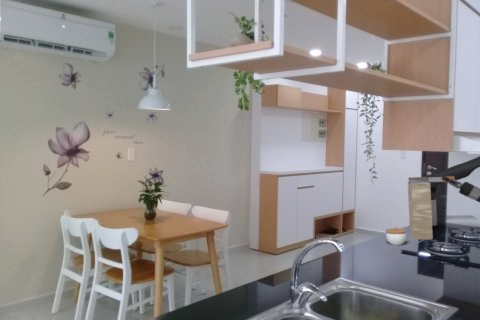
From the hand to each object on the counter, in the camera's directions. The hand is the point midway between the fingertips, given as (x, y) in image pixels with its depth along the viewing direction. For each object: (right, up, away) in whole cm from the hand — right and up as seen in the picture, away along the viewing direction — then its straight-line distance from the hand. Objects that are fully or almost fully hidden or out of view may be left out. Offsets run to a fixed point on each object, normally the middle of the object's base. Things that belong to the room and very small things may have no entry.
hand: (441, 177), depth 246 cm
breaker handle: (-3, -3, +1) cm, 4 cm away
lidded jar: (-31, -37, -12) cm, 50 cm away
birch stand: (-11, -35, +4) cm, 37 cm away
